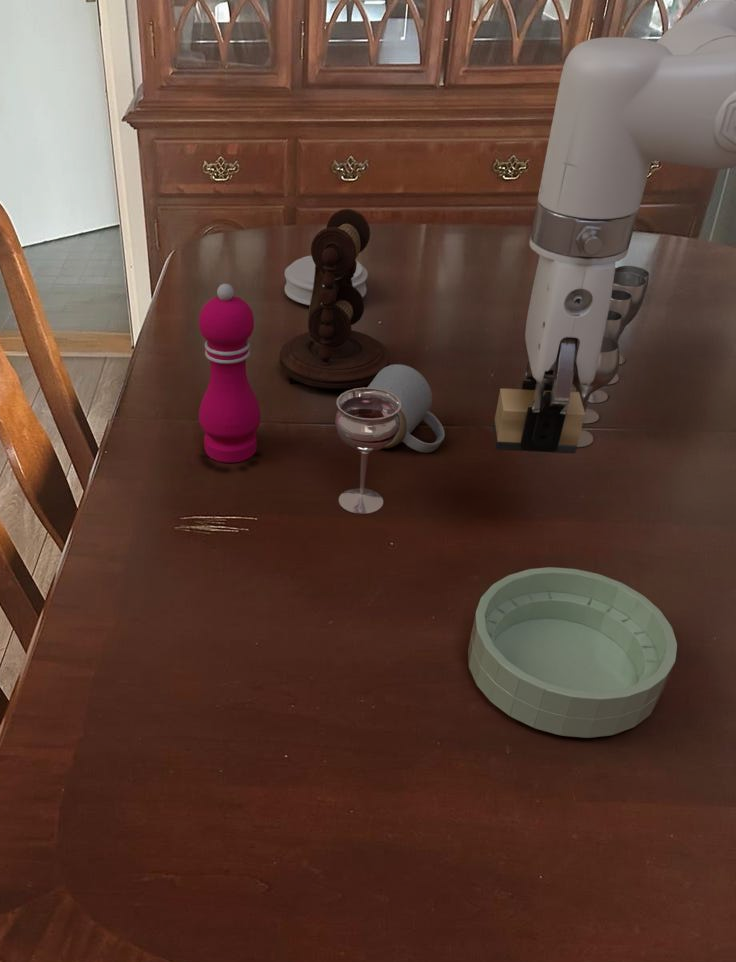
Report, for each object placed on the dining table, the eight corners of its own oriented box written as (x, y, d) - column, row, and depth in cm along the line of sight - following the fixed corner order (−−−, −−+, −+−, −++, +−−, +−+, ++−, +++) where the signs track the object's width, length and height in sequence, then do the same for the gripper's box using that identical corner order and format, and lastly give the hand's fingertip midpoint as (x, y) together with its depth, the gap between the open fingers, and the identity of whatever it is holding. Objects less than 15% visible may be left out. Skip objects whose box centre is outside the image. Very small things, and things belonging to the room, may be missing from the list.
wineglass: (320, 491, 104) (325, 394, 96) (374, 478, 106) (383, 382, 98) (346, 524, 100) (353, 425, 91) (402, 510, 101) (413, 412, 93)
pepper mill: (195, 463, 109) (185, 296, 95) (206, 432, 114) (197, 269, 100) (256, 467, 108) (254, 299, 94) (264, 435, 113) (263, 272, 100)
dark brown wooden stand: (298, 341, 132) (301, 192, 118) (399, 356, 128) (415, 204, 115) (264, 388, 122) (264, 232, 108) (373, 406, 118) (387, 247, 104)
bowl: (640, 619, 88) (656, 574, 84) (675, 752, 76) (696, 707, 72) (463, 605, 90) (472, 561, 86) (470, 734, 78) (480, 689, 74)
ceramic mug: (345, 444, 111) (350, 386, 106) (371, 413, 117) (377, 356, 111) (429, 466, 108) (438, 408, 103) (451, 434, 113) (461, 376, 108)
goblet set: (590, 347, 130) (614, 251, 120) (632, 355, 128) (660, 258, 119) (544, 443, 111) (568, 338, 102) (592, 454, 109) (622, 348, 100)
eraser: (569, 431, 86) (579, 391, 83) (575, 454, 83) (585, 414, 80) (493, 427, 86) (500, 387, 84) (495, 449, 84) (503, 409, 81)
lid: (304, 274, 150) (305, 242, 146) (377, 287, 145) (380, 255, 142) (270, 304, 141) (270, 271, 138) (347, 318, 137) (349, 285, 134)
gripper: (652, 272, 65) (590, 489, 78) (614, 194, 78) (566, 393, 90) (544, 268, 66) (500, 484, 79) (523, 191, 78) (488, 389, 91)
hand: (535, 433), depth 84 cm, fingers closed on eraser, 4 cm apart
